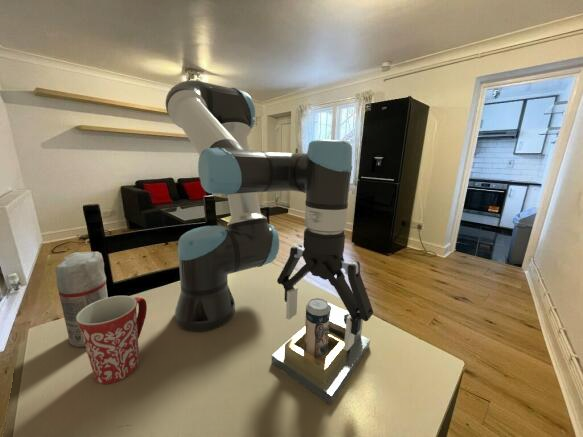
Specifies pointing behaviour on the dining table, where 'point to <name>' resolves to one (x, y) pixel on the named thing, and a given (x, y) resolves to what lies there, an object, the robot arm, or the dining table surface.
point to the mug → (112, 336)
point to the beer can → (317, 328)
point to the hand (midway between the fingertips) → (317, 330)
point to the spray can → (80, 288)
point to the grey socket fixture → (330, 372)
